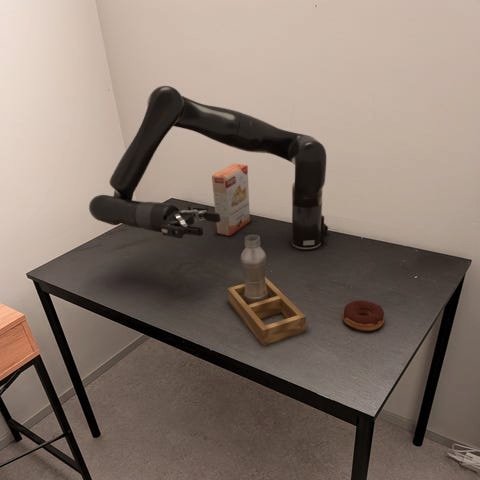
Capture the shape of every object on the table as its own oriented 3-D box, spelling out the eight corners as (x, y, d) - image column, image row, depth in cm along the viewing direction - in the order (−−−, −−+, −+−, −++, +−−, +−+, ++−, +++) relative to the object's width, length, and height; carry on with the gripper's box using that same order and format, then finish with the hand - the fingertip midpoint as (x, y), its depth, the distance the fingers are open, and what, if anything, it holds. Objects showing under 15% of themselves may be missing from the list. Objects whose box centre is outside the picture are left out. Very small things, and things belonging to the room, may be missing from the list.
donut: (392, 323, 110) (394, 309, 108) (363, 338, 106) (364, 325, 104) (362, 305, 117) (363, 292, 115) (333, 319, 113) (334, 306, 111)
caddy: (266, 291, 127) (265, 277, 124) (305, 331, 110) (305, 316, 108) (228, 302, 123) (227, 288, 121) (263, 345, 107) (262, 330, 104)
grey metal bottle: (274, 305, 121) (271, 235, 109) (257, 316, 117) (253, 246, 105) (256, 297, 124) (251, 229, 113) (239, 308, 121) (233, 239, 109)
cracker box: (231, 237, 157) (225, 177, 145) (216, 234, 160) (210, 175, 148) (251, 221, 166) (248, 164, 154) (237, 219, 169) (233, 162, 157)
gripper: (138, 213, 111) (194, 221, 105) (170, 193, 122) (223, 199, 115) (144, 241, 116) (198, 250, 109) (174, 220, 126) (225, 227, 120)
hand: (211, 224), depth 112 cm, fingers open, 8 cm apart
